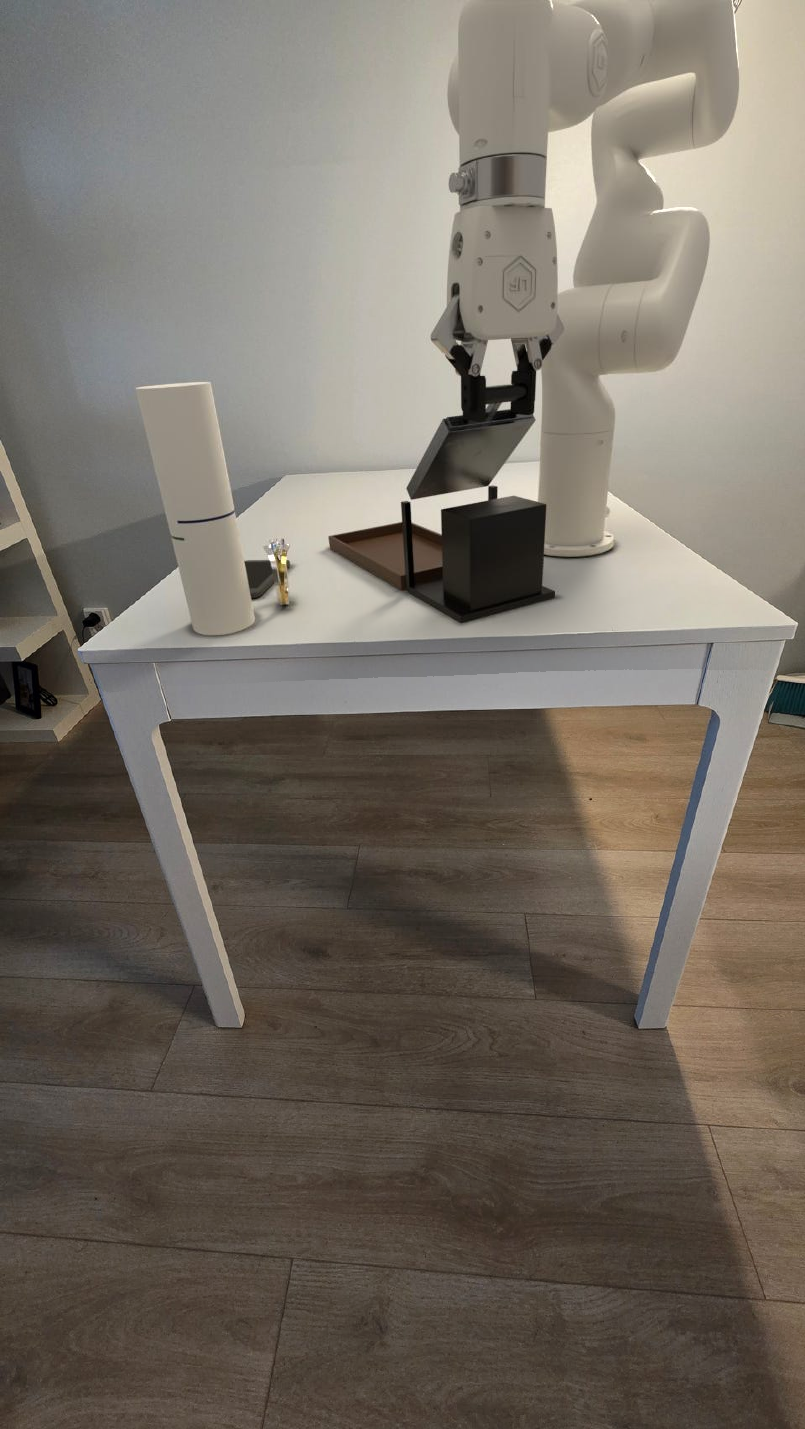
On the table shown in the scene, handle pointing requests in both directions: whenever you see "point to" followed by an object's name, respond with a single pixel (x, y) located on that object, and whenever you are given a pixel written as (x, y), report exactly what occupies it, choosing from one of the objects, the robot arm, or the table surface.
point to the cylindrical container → (198, 504)
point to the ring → (279, 568)
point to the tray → (392, 552)
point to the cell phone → (260, 576)
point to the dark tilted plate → (471, 447)
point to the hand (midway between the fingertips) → (498, 415)
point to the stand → (484, 557)
